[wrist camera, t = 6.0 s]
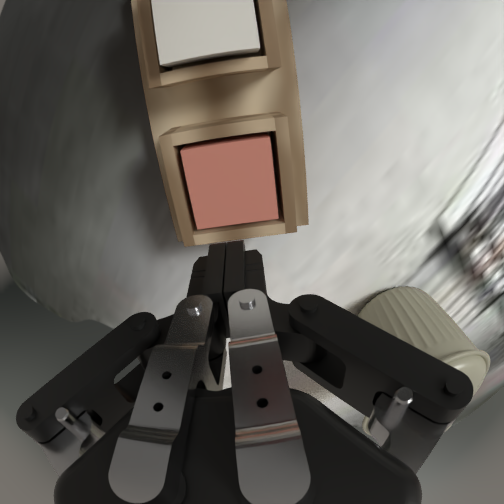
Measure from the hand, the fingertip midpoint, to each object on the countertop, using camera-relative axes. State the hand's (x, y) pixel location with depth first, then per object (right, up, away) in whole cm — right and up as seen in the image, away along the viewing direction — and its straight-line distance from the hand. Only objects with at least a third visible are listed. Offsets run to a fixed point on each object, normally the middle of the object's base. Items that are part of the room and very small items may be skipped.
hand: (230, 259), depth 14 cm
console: (-2, +15, +13) cm, 20 cm away
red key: (-1, +7, +13) cm, 15 cm away
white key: (-2, +18, +4) cm, 19 cm away
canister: (+22, -9, +29) cm, 37 cm away
